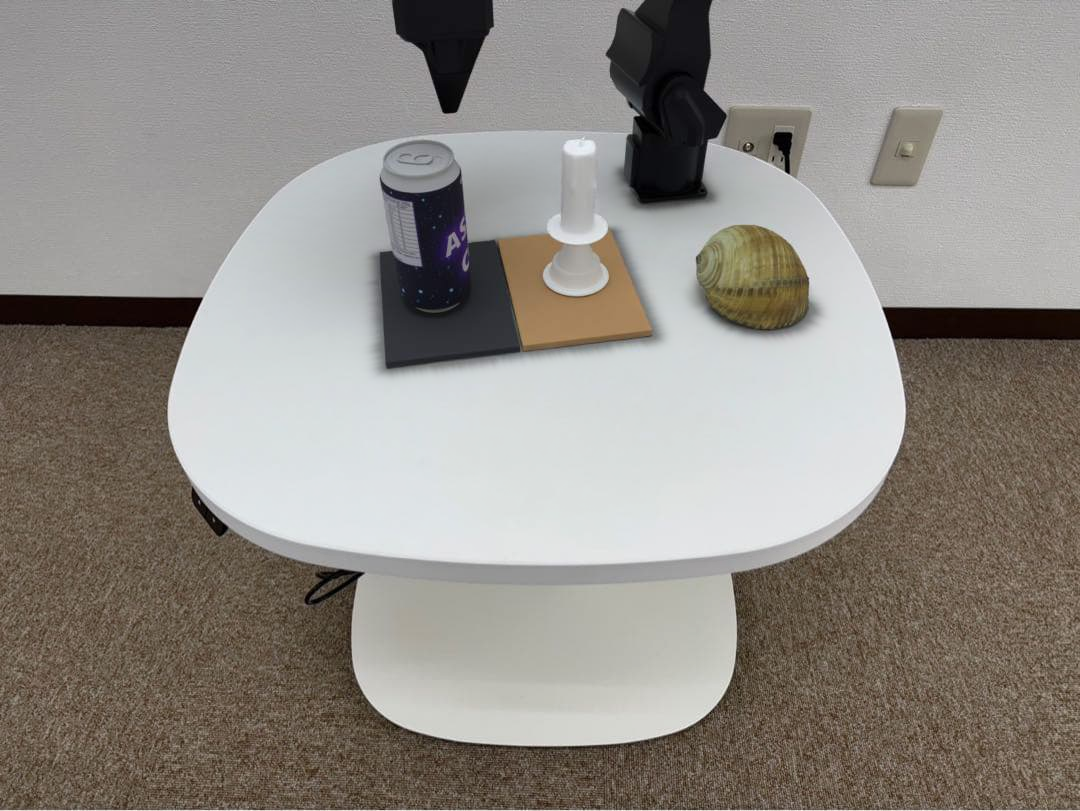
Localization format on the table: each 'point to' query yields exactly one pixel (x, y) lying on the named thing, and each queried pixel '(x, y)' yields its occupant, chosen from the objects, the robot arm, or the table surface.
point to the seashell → (753, 277)
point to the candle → (577, 225)
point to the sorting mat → (487, 310)
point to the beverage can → (426, 224)
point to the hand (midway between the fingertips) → (444, 85)
